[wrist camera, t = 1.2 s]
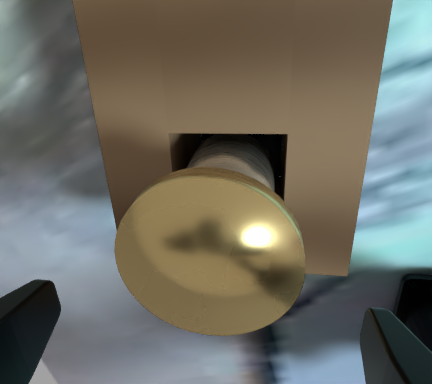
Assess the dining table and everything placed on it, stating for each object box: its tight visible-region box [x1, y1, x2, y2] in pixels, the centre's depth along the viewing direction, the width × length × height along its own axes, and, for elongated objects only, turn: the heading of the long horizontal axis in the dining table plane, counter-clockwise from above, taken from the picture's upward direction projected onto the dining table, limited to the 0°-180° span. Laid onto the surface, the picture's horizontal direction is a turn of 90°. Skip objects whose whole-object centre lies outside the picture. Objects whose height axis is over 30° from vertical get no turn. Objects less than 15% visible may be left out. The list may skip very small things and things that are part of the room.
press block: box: [72, 0, 393, 276], centre depth 14 cm, size 19×10×6 cm, turn 2°
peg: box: [115, 134, 306, 336], centre depth 12 cm, size 5×5×6 cm
